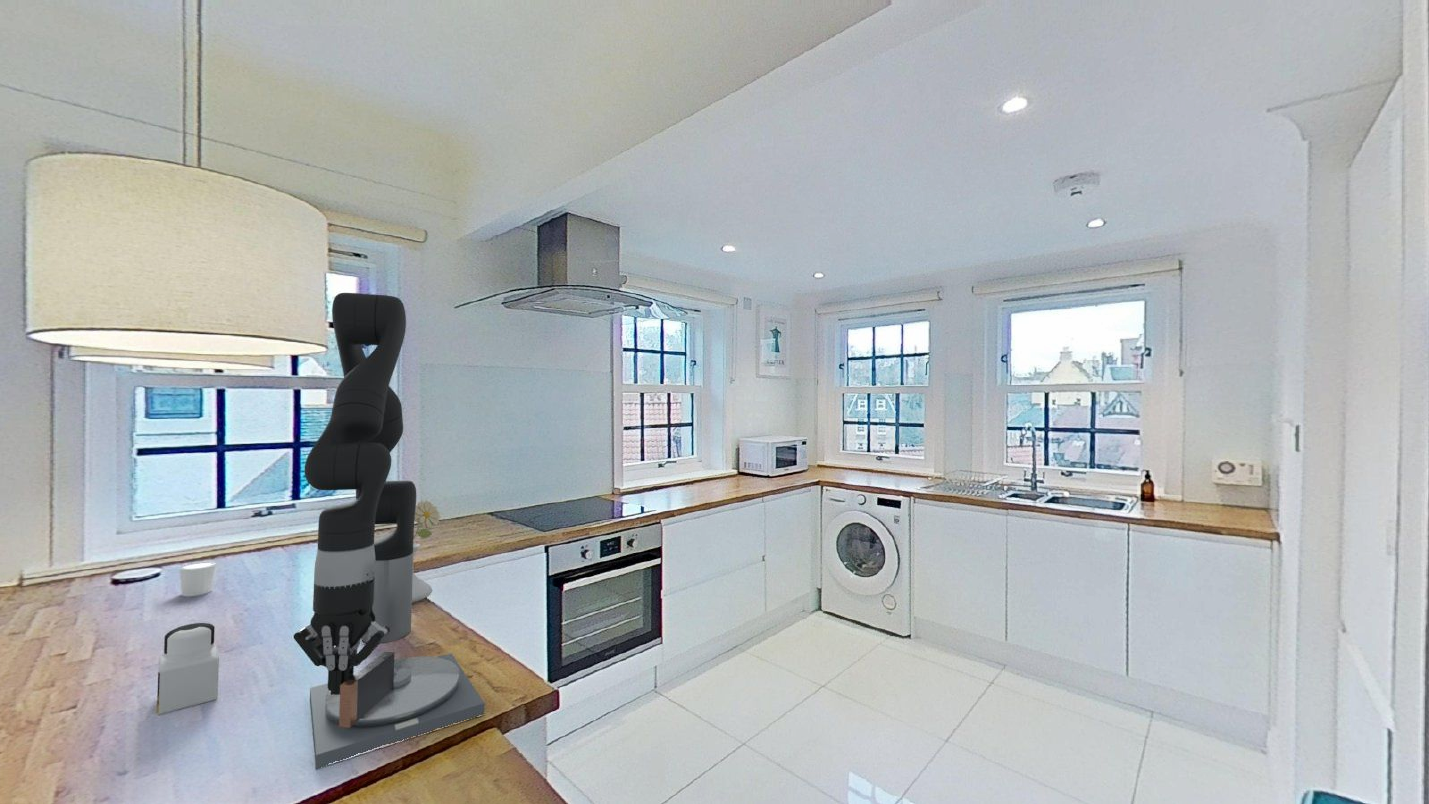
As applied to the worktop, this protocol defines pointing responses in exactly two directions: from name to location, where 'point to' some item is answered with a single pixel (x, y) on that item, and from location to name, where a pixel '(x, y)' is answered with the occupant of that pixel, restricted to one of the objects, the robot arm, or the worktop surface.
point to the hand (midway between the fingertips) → (340, 691)
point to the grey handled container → (188, 668)
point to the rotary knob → (392, 690)
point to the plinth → (358, 739)
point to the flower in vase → (426, 519)
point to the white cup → (197, 578)
